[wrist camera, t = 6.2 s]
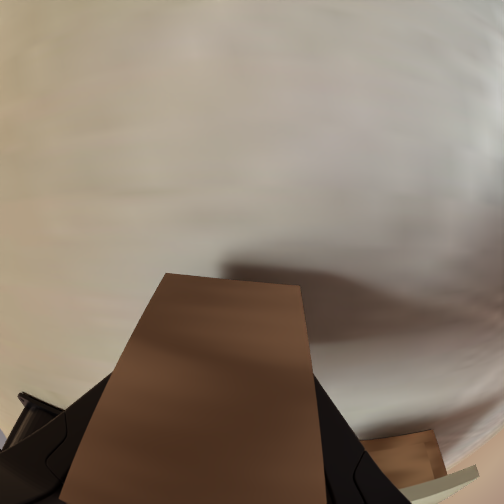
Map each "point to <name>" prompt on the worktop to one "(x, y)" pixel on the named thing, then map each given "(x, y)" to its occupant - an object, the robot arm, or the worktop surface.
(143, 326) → the brown stepped square block
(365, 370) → the worktop surface
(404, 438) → the brown box
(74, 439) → the robot arm
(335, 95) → the worktop surface
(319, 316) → the worktop surface
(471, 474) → the lid
